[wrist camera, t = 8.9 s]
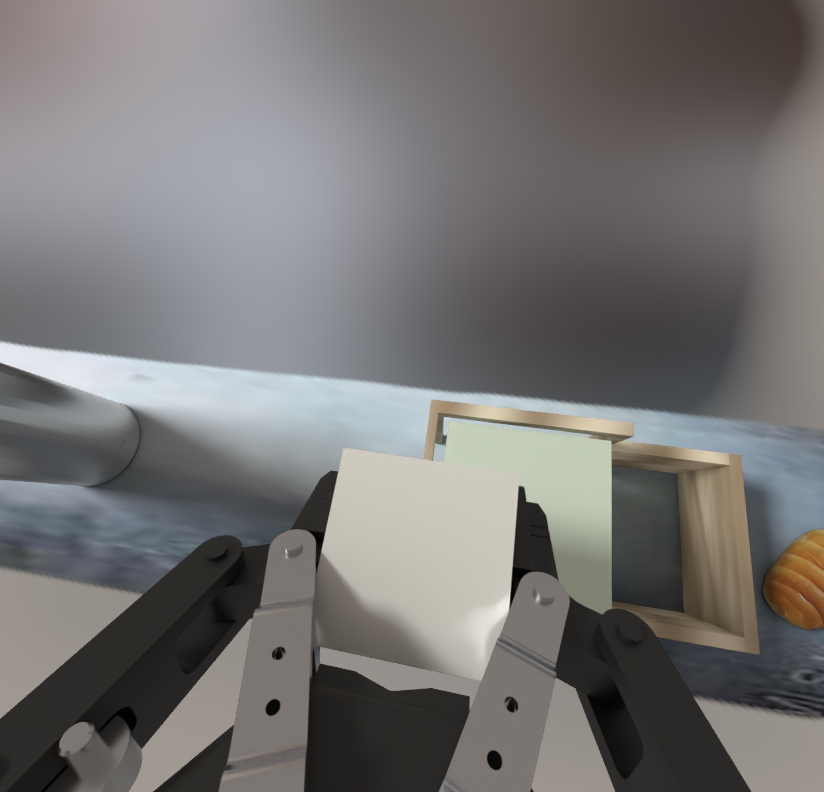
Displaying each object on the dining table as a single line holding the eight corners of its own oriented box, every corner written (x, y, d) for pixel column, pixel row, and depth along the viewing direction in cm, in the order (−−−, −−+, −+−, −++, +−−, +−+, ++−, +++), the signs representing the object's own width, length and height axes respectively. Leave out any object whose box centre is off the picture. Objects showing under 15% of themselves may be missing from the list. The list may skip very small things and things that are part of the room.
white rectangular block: (363, 588, 17) (301, 642, 10) (383, 476, 19) (343, 447, 11) (476, 610, 17) (503, 685, 9) (487, 493, 18) (519, 473, 11)
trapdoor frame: (415, 579, 36) (403, 612, 24) (434, 433, 40) (431, 399, 28) (695, 626, 33) (839, 689, 21) (686, 465, 37) (804, 443, 25)
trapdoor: (428, 588, 25) (428, 591, 24) (448, 423, 28) (448, 420, 27) (604, 618, 24) (611, 622, 23) (605, 443, 27) (611, 441, 26)
